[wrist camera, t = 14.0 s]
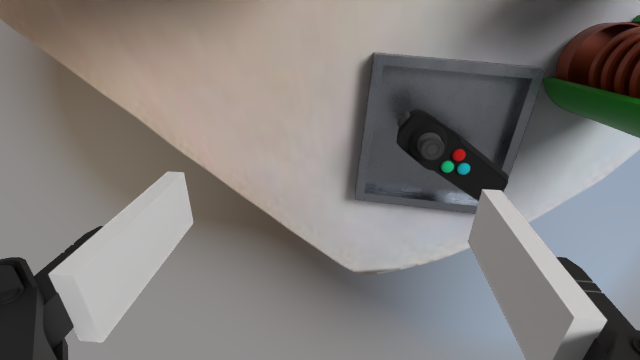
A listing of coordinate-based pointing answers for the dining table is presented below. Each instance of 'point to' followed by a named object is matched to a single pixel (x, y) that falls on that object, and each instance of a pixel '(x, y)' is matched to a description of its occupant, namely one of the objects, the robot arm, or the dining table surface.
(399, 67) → the tray
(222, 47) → the dining table surface
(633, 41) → the green cylindrical container
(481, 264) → the robot arm
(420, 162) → the controller
